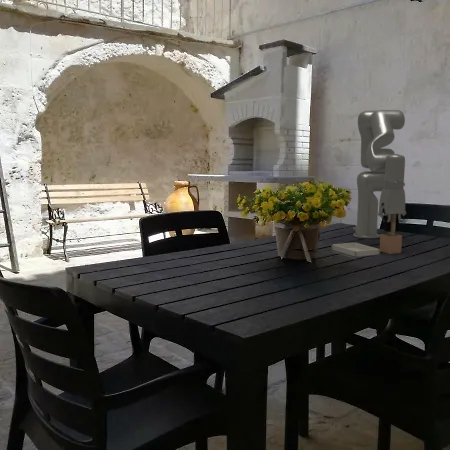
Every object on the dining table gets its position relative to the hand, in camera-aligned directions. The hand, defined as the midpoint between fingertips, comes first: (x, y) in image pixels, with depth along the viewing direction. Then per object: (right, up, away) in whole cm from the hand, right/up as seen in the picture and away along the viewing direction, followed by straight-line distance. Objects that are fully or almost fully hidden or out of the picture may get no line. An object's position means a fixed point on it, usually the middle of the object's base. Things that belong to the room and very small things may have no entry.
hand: (391, 230), depth 210 cm
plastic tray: (-14, -10, +2) cm, 17 cm away
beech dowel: (0, -9, +1) cm, 9 cm away
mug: (-32, -8, +10) cm, 35 cm away
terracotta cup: (0, -10, +1) cm, 10 cm away
